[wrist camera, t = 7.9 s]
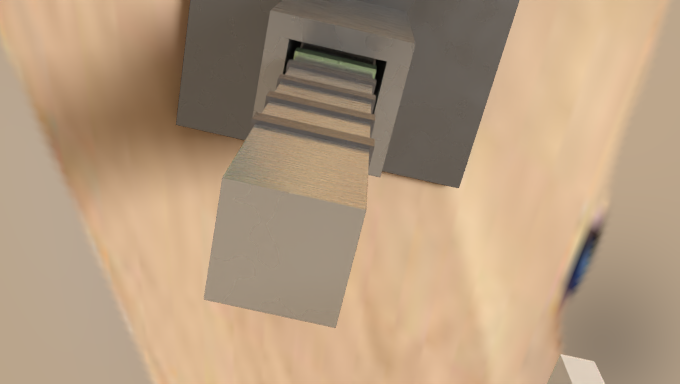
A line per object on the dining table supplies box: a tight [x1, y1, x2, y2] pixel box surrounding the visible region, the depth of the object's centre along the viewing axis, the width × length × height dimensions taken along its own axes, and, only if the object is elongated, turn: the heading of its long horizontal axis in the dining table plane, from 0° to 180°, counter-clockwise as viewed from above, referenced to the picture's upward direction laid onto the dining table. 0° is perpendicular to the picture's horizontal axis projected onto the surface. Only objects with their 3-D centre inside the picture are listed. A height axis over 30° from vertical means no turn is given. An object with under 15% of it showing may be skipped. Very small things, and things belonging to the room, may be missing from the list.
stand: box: [176, 0, 519, 188], centre depth 40 cm, size 16×22×13 cm
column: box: [204, 42, 377, 328], centre depth 28 cm, size 4×4×22 cm
